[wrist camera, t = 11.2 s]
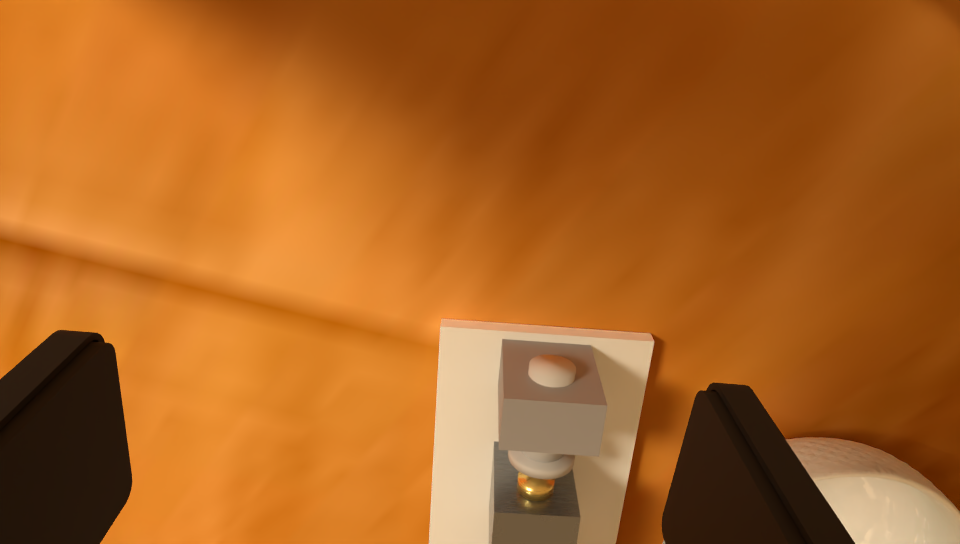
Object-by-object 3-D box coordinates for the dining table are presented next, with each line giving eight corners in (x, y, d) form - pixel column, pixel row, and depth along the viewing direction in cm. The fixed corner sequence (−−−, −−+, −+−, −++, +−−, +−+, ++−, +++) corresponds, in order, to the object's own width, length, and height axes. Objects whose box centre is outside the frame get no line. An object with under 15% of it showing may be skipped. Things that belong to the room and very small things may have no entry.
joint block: (494, 430, 40) (494, 500, 35) (570, 434, 40) (582, 505, 35) (488, 516, 43) (487, 594, 37) (559, 520, 43) (568, 599, 37)
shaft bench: (427, 579, 46) (417, 675, 40) (441, 318, 39) (431, 384, 32) (602, 591, 47) (619, 688, 40) (650, 333, 39) (682, 401, 32)
